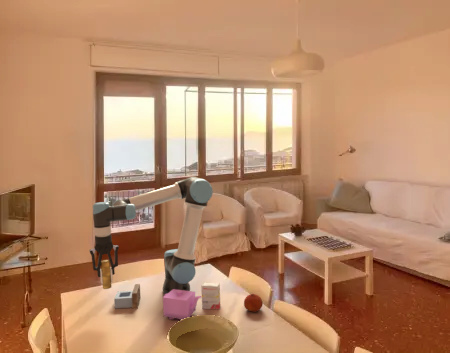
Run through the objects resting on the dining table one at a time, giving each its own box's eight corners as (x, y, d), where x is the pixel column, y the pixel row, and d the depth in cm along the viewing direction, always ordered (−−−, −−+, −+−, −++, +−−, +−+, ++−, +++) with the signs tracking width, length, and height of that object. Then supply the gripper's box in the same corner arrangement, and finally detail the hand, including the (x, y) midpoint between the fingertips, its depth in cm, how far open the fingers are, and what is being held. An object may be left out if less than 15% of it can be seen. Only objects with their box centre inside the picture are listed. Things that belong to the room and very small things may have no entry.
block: (135, 299, 196) (135, 290, 195) (133, 307, 187) (132, 297, 186) (118, 300, 195) (117, 291, 194) (114, 308, 186) (114, 298, 185)
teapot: (159, 318, 174) (157, 293, 173) (169, 309, 184) (168, 284, 182) (198, 324, 168) (197, 298, 166) (206, 314, 177) (205, 289, 176)
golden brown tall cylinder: (111, 285, 181) (109, 259, 180) (111, 288, 178) (109, 261, 176) (102, 286, 180) (100, 260, 178) (103, 289, 176) (101, 263, 175)
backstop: (140, 298, 197) (139, 283, 196) (137, 308, 185) (136, 293, 185) (135, 298, 197) (135, 284, 196) (132, 308, 185) (131, 293, 184)
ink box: (220, 305, 187) (220, 282, 185) (218, 309, 182) (218, 286, 181) (204, 304, 188) (203, 281, 187) (201, 308, 183) (201, 285, 182)
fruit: (241, 313, 177) (241, 297, 177) (247, 305, 186) (247, 290, 185) (259, 316, 174) (259, 299, 174) (264, 307, 183) (264, 292, 182)
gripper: (120, 230, 183) (123, 276, 185) (83, 235, 176) (87, 282, 179) (122, 234, 176) (126, 281, 179) (84, 239, 169) (88, 288, 172)
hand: (106, 282), depth 179 cm, fingers closed on golden brown tall cylinder, 4 cm apart
